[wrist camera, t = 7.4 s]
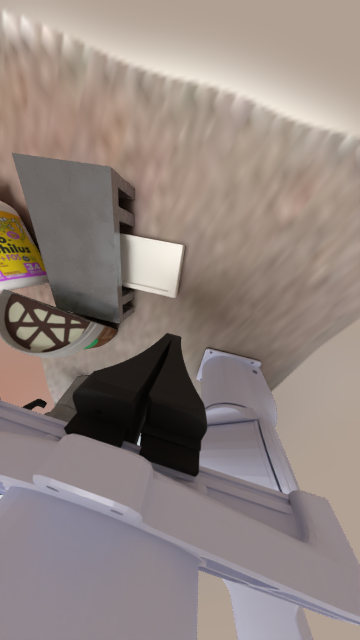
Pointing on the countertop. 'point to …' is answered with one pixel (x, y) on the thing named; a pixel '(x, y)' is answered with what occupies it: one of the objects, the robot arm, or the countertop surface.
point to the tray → (151, 265)
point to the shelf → (79, 232)
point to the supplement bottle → (18, 253)
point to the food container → (47, 328)
